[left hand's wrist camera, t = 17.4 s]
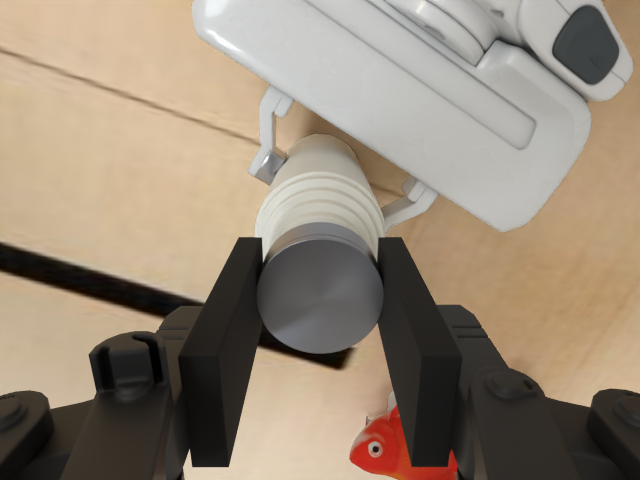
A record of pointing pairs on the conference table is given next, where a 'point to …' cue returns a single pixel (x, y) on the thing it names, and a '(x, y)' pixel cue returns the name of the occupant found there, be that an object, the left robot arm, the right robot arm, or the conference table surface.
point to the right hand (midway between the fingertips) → (312, 209)
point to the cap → (320, 288)
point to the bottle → (320, 193)
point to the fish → (393, 450)
